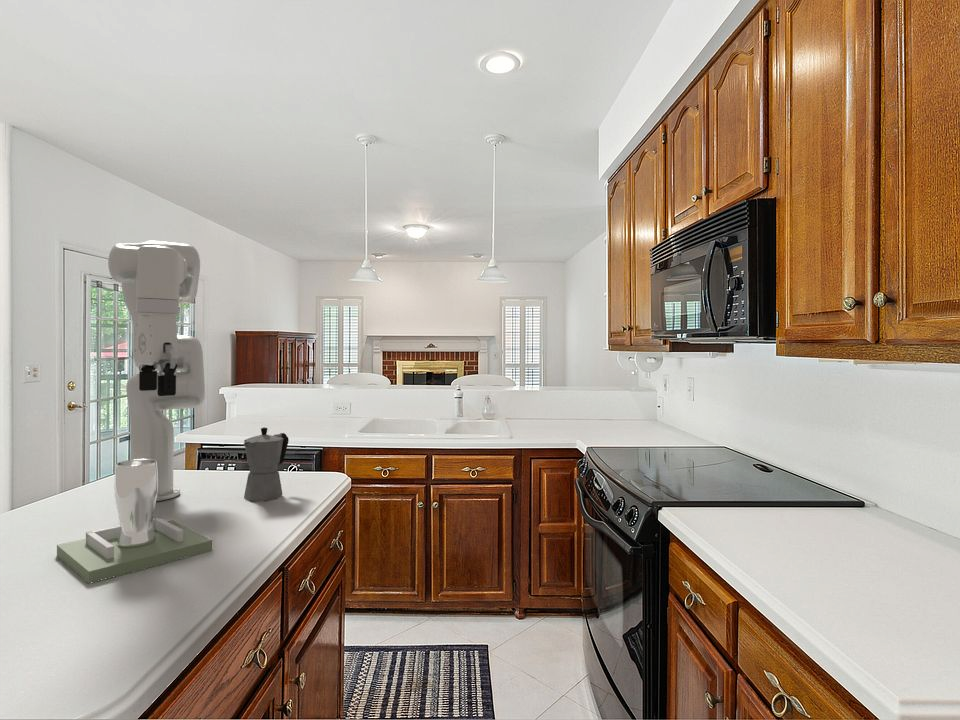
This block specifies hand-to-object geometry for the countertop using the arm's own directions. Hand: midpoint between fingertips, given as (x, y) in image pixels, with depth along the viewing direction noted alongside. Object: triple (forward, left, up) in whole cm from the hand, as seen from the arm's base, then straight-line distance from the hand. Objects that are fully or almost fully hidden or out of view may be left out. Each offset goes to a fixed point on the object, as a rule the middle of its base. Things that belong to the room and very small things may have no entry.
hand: (157, 392), depth 114 cm
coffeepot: (-11, +31, -29) cm, 44 cm away
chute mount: (+8, -6, -29) cm, 31 cm away
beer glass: (+8, -6, -27) cm, 29 cm away
